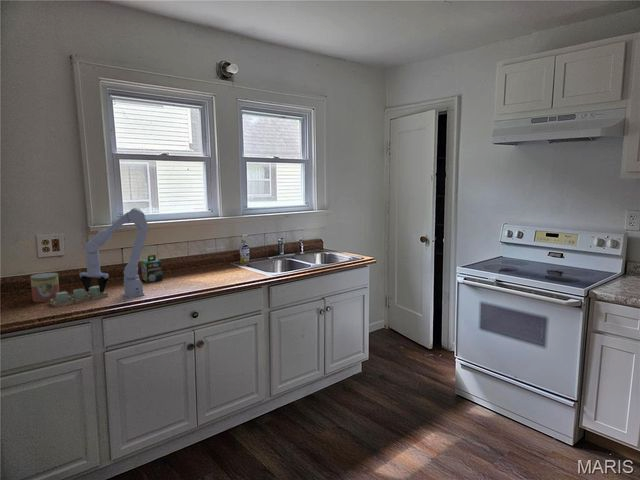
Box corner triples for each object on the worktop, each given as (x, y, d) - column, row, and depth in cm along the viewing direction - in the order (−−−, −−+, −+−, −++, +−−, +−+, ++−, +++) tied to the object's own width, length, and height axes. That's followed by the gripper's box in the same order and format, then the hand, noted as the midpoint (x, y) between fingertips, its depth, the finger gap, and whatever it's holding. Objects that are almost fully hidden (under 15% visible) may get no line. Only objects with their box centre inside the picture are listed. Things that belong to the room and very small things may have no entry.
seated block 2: (85, 299, 200) (85, 289, 199) (76, 301, 197) (75, 291, 196) (82, 298, 203) (81, 288, 202) (73, 299, 200) (72, 289, 199)
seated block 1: (69, 303, 195) (68, 292, 194) (59, 305, 192) (58, 294, 191) (66, 301, 197) (65, 291, 196) (56, 303, 194) (55, 293, 193)
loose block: (102, 295, 207) (101, 286, 206) (96, 298, 203) (96, 288, 202) (94, 295, 208) (94, 285, 207) (89, 297, 204) (88, 287, 203)
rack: (107, 297, 206) (107, 293, 205) (56, 307, 189) (55, 302, 188) (100, 294, 211) (100, 290, 211) (50, 303, 194) (49, 299, 194)
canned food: (32, 304, 194) (30, 279, 192) (32, 298, 203) (29, 274, 201) (61, 300, 200) (59, 276, 198) (59, 294, 209) (57, 271, 207)
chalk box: (157, 277, 248) (156, 253, 246) (163, 280, 242) (162, 255, 239) (141, 279, 242) (140, 254, 240) (147, 282, 235) (145, 257, 233)
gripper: (112, 263, 206) (113, 290, 208) (86, 262, 208) (88, 288, 210) (102, 266, 199) (104, 294, 201) (75, 265, 201) (77, 292, 203)
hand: (95, 291), depth 205 cm, fingers open, 7 cm apart
